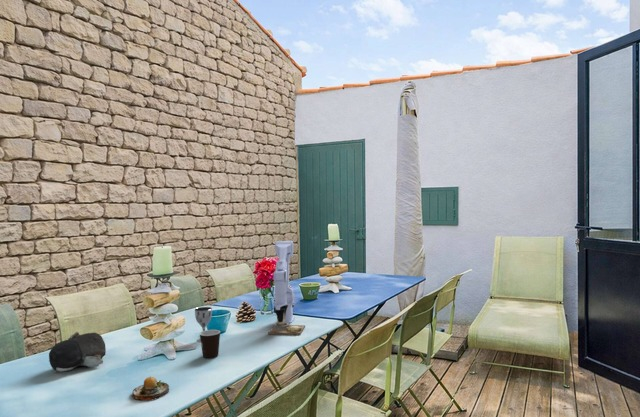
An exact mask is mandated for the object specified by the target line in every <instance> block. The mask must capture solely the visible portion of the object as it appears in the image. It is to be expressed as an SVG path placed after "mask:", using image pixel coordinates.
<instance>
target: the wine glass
mask: <svg viewBox="0 0 640 417" xmlns="http://www.w3.org/2000/svg"><path fill="white" fill-rule="evenodd" d="M212 315H213V309H212V306H200V307H196V308H194V318H195V321H196V323H197V324H199V325H200V327H201V329H202V332H203V331H206V328H207V326H208V324H209V323H210V322H211V320H212ZM196 342H197V343H201V340H200V338H197V339H196Z"/></svg>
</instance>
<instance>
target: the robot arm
mask: <svg viewBox="0 0 640 417" xmlns="http://www.w3.org/2000/svg"><path fill="white" fill-rule="evenodd" d="M274 249H275V254H276V257H278V260H277V261H276V263H275V269H274V270H275V271H273V282H274V283H273V284H274V292H275V293H274V300H275V302H273V304H272V305H275V307H274V308H273V311H274V312H275V315H276V320H277V319H278V322H283V316H284V314H285V322H287V323H289V324H292V323H293V321H294V319H295V317H294V315H293V310H294V309H293V304H294V303H295V295H294V294H295V291H294V290H293V288H291V287H290V260H291V258H292V257H293V256H294V241H293V240H282V241H280V240H276V241H275V242H274Z"/></svg>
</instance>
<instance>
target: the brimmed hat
mask: <svg viewBox="0 0 640 417" xmlns="http://www.w3.org/2000/svg"><path fill="white" fill-rule="evenodd" d="M169 387H170V386H169V384H168V383H167V382H164V381H162V380H159V381H158V379H157V378H156V377H154V376H148V377H146V378H145V379H144V380H143V384H141V385H138V386H137V387H135V388H133V389H132V393H131V397H132V398H133V400H135V401H136V400H140V401H142V402H145V401H147V400H148V401H153V400H156V399H155V398H157V399H160V398H162V397H163V398H164V396H166V395H168V393H170V388H169ZM159 397H160V398H159ZM152 399H153V400H152Z"/></svg>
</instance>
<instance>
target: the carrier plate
mask: <svg viewBox="0 0 640 417" xmlns="http://www.w3.org/2000/svg"><path fill="white" fill-rule="evenodd" d="M305 328H306V325H305V324H298V325H297V324H291V325H290V323H287V322H285V325H283V326H278V325H277V322H276V323H273V327H272V328H271V329H270V330H269V331H268V332H267V335H268V336H271V335H272V336H301V335H302V333H303V331H304V329H305Z"/></svg>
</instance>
